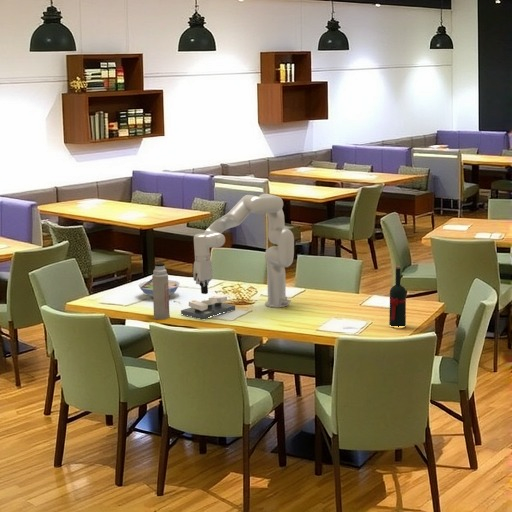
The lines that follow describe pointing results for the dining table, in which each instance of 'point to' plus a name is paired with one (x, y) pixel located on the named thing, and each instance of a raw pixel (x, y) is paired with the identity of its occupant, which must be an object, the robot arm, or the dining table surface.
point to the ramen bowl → (148, 287)
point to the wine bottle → (397, 303)
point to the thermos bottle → (160, 292)
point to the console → (208, 310)
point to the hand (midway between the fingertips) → (204, 293)
